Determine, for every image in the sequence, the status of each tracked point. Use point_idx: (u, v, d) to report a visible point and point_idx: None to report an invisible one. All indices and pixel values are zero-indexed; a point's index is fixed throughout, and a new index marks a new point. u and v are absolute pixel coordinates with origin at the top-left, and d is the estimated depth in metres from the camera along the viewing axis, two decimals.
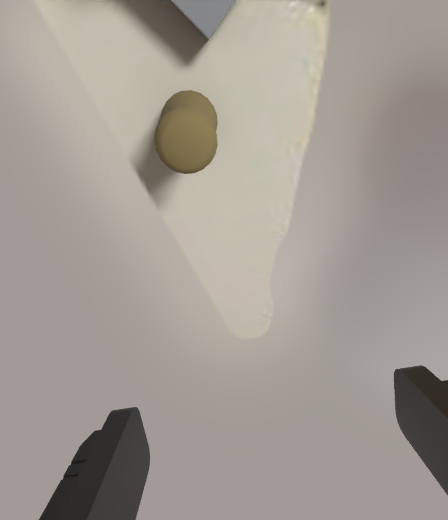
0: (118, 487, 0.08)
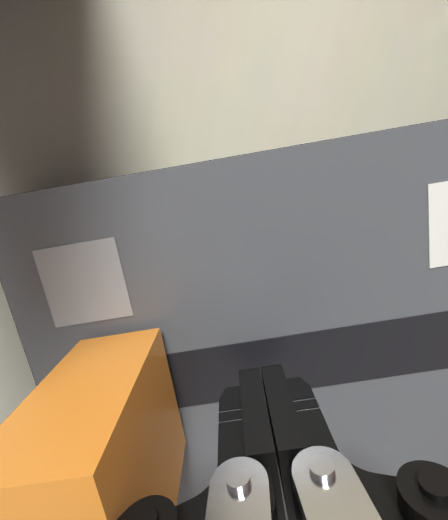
0: None
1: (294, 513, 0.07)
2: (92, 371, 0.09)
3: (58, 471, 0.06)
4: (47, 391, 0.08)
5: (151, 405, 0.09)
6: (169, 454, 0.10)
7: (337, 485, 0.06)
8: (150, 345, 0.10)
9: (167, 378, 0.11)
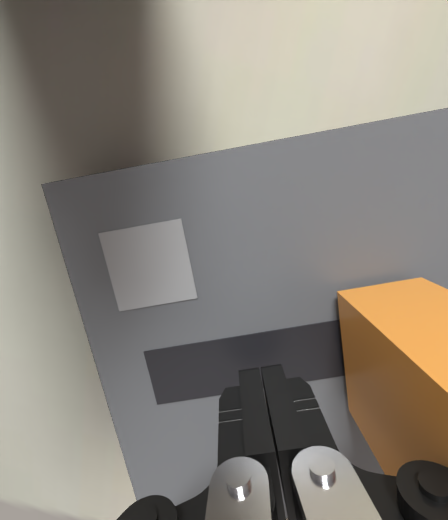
0: None
1: (294, 513, 0.07)
2: (420, 310, 0.09)
3: None
4: (396, 326, 0.08)
5: None
6: None
7: (337, 485, 0.06)
8: (446, 289, 0.10)
9: None
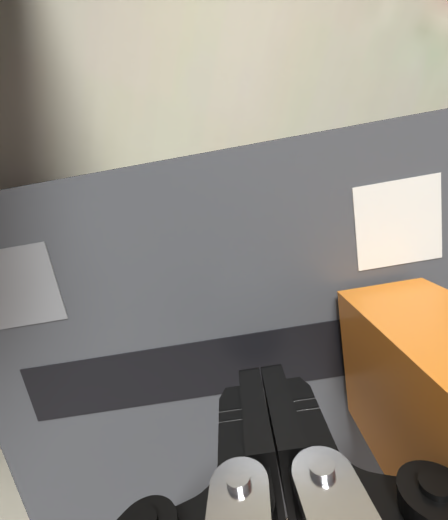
0: None
1: (294, 513, 0.07)
2: (420, 310, 0.09)
3: None
4: (397, 326, 0.08)
5: None
6: None
7: (337, 485, 0.06)
8: (446, 289, 0.10)
9: None
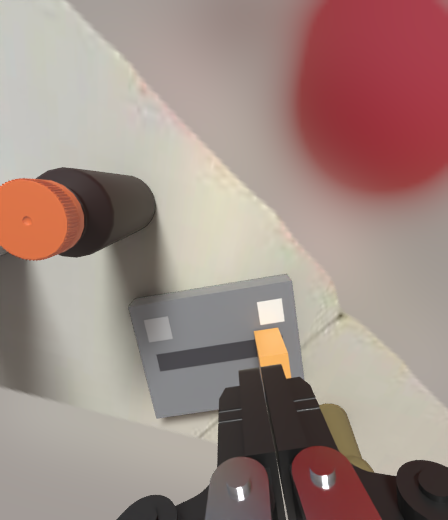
0: None
1: (294, 513, 0.07)
2: (268, 338, 0.36)
3: (280, 352, 0.32)
4: (260, 342, 0.35)
5: None
6: None
7: (337, 485, 0.06)
8: (279, 332, 0.37)
9: None
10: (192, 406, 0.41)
